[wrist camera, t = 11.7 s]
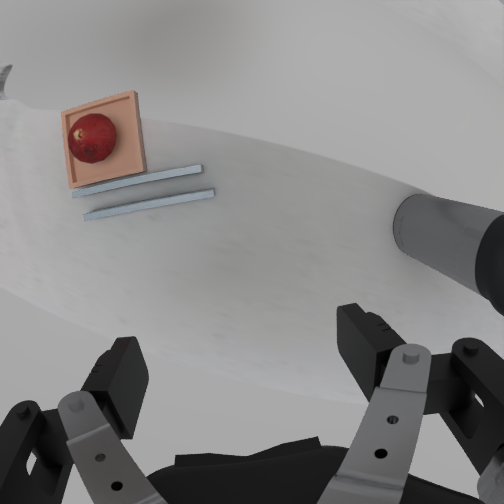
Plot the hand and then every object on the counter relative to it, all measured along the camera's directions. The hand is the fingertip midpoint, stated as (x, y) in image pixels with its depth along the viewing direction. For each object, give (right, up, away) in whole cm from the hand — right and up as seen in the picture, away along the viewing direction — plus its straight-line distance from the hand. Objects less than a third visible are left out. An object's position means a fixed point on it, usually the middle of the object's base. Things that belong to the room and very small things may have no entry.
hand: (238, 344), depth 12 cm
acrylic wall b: (-13, +12, +25) cm, 31 cm away
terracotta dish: (-18, +18, +23) cm, 34 cm away
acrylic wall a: (-12, +10, +26) cm, 30 cm away
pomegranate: (-18, +17, +23) cm, 34 cm away
